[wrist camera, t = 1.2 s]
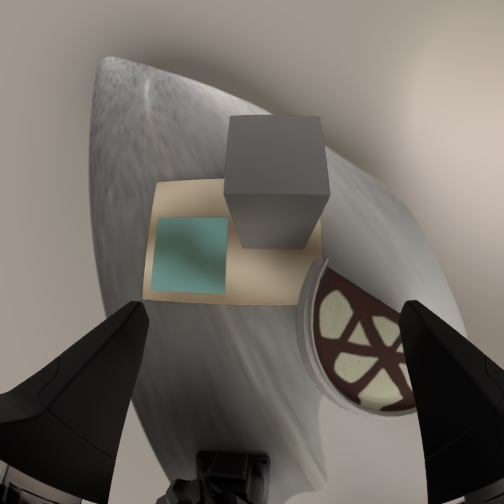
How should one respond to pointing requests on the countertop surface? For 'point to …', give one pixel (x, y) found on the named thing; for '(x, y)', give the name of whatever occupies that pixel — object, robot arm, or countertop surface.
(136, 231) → the countertop surface
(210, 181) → the stand board
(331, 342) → the food container
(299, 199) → the tall gray pillar
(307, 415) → the countertop surface
